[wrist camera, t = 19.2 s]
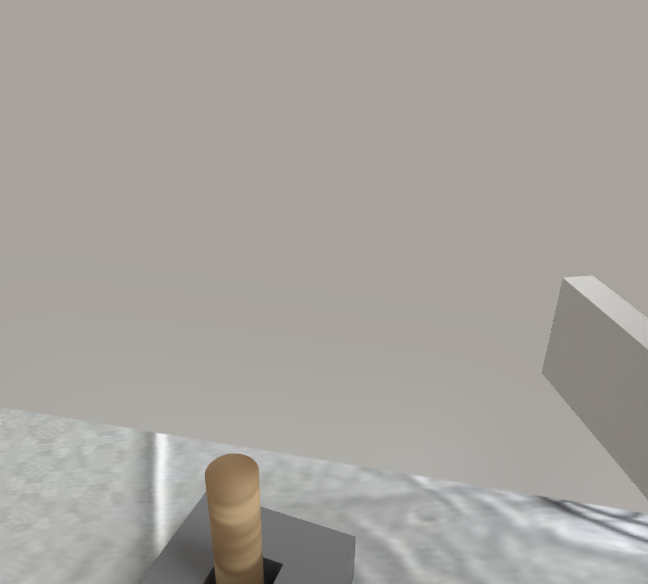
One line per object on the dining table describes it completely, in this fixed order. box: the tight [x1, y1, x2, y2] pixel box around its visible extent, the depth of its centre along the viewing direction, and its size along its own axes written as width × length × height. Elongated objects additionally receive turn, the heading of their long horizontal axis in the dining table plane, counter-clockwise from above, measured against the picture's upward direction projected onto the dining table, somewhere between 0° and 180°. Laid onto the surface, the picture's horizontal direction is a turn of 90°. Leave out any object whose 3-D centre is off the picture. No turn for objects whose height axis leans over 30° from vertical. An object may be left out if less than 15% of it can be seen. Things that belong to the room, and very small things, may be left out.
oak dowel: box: [205, 454, 264, 584], centre depth 43 cm, size 4×4×15 cm
